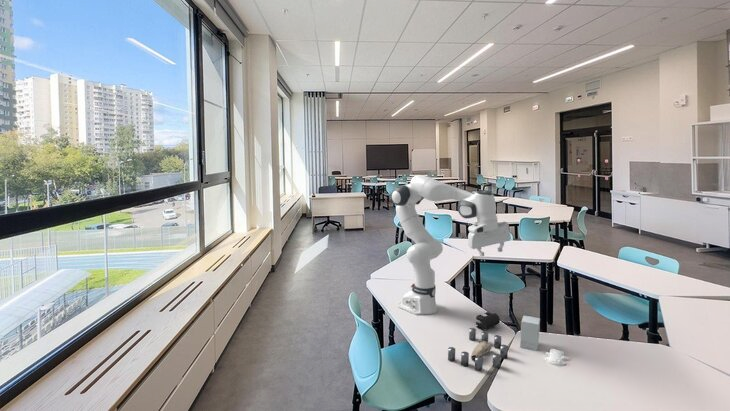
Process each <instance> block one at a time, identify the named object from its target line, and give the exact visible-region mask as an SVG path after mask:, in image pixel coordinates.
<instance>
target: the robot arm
mask: <svg viewBox="0 0 730 411" xmlns="http://www.w3.org/2000/svg"><path fill="white" fill-rule="evenodd" d="M390 198H391V199H390V200H391V201H392V203H393V204H394V205H395V212H396V216H397V218H398V221H399V224H400V225H401V228H402V229H403V231H404V234H405V235H406V237H407V238H408V239H410V240H412V241H413V242H414V244H413V245H411V246H410V247H409V248H408V249H406V258H407V261H408V262H409V263H410V264H411V265H412V267H413V271H414V283H412V284H411V285H410V288H412V289H410V290H409V291H407V292H405V294H403V296H402V298H401V301H399V302H398V304H397V307H398V308H399V309H401V310H404V311H406V312H409V313H411V314H413V315H415V316H419V315H431V314H434V313H436V312H438V307H437V302H436V289H437V288H436V283H435V282H436V272H435V270H434V269H433V268H432V267H431V261H432V260H433V259H436V258H438V257H439V256H441V254H442V253H443V249H444V248H443V243H441V241H440V240H438V239H437V238H435V237H434V236H433V235H432V234H430V232H429V231H428V230H427V229H426V227H425V226H424V224H423V222H422V220H421V218H420V216H419V214H418V213H417V210H416V205H417V206H418V205H419V204H420V203H421V202H422V200H424V199H426V200H428V201H430V202H441V201H449V200H455V201H458V203H457V211H458V214H459V215H460V217H462V218H463V219H467V220H468V219H472V218H473V219H474V218H476V219H477V221H476V222H475V223H473V224H471V225H470V226H469V227H468V228H467V229H468V232H469V233H468V235H467V245H468V247H469V248H470V249H473V250H477V251H478V253H479V257H484V256H485V252H484V251H482V248H483V247H484V248H485V247H488V246H493V245H497V244H499V247H497V252H498V253H502V252H503V248H504V246H505V243H506V242H510V241H511V239H512V237H511V231H510V225H509V223H508V222H507V221H500V222H498V216H497V213H496V212H497V206H496V205H497V204H496V200H495V199H496V198H495V195H494V194H493V192H492V191H490V190H486V189H484V190H482V189H480V190H477V191H476V192H472V191H470V190H467V189H463V188H461V187H458V186H454V185H450V184H448V183H444V182H442V181H439V180H436V179H435V178H432V177H430V176H426V175H422V174H417V175H413V177H412V178H411V180H410V183H408V184H407V183H406V184H404V185H400V186H397V187H395V188H393V189H392V190H391V193H390Z"/></svg>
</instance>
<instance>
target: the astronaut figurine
mask: <svg viewBox="0 0 730 411" xmlns="http://www.w3.org/2000/svg"><path fill="white" fill-rule="evenodd" d="M544 354H545V355H546V356H545V357H544V360H545V361H546V362H547V363H548V364H549V365H552V366H556V367H561V366H566V365H567V363H566V361H568V360H569V357H568V356H565V352H564V350H563V351H562V350H558V349H555V348H550V350H549V352H548V351H546V352H545V353H544Z"/></svg>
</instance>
